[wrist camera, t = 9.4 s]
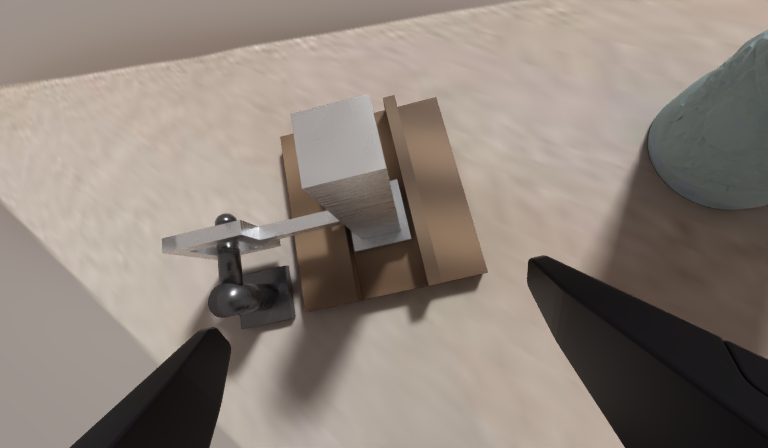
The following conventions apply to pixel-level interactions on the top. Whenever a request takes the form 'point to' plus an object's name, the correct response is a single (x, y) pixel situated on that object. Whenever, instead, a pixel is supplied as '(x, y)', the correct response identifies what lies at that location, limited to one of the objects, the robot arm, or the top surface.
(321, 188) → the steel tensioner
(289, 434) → the top surface
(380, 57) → the top surface
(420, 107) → the track board
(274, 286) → the keeper hook
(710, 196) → the green embossed cup
